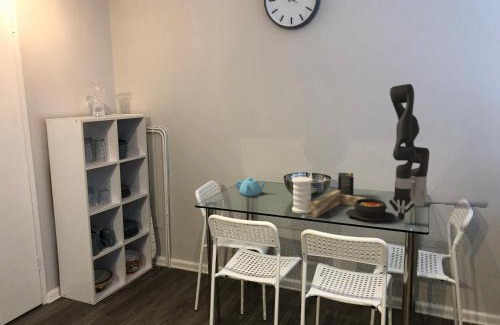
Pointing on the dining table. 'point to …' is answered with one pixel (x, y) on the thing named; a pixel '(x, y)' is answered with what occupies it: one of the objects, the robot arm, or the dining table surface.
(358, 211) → the casserole
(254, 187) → the teapot
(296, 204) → the decorative container
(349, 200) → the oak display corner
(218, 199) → the dining table surface
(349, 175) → the tampon box
